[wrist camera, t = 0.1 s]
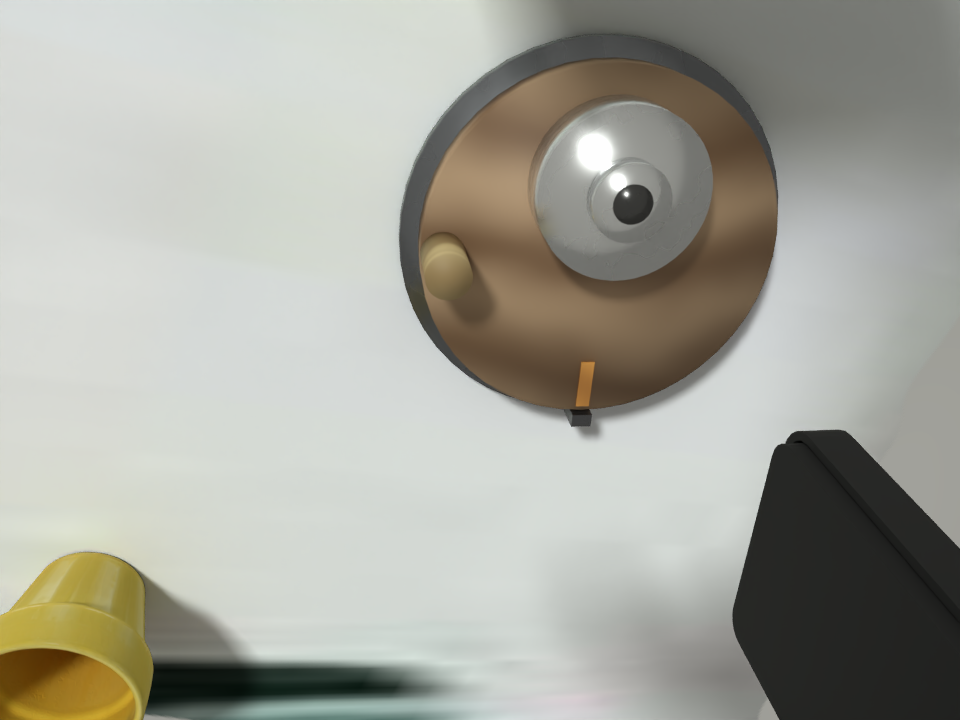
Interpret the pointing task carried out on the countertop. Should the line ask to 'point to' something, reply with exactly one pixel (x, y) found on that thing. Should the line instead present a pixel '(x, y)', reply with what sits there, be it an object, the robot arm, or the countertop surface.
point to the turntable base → (495, 85)
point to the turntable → (566, 293)
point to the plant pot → (77, 644)
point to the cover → (619, 187)
